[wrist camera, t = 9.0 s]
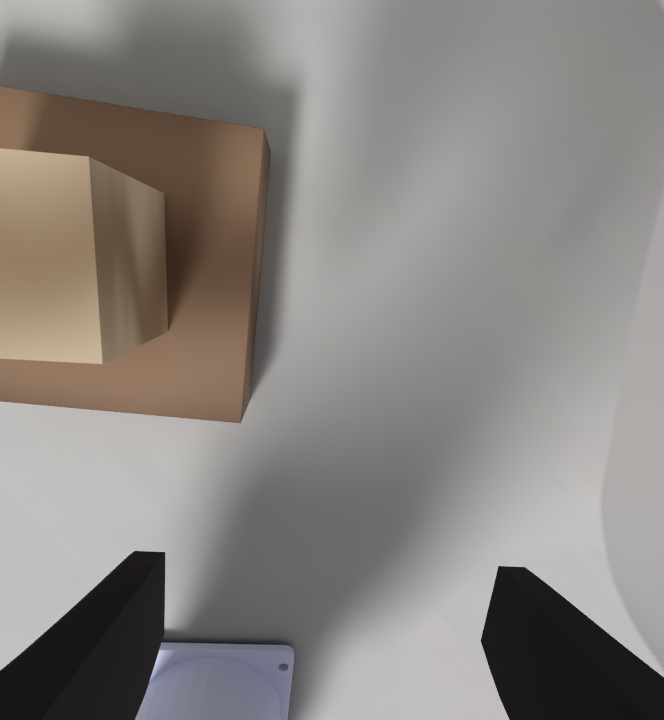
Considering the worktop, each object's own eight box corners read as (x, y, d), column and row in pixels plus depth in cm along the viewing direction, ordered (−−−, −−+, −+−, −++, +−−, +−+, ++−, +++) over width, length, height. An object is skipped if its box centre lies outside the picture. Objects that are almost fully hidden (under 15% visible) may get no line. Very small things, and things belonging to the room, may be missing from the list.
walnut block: (251, 397, 18) (240, 423, 15) (13, 373, 17) (-49, 396, 14) (271, 155, 15) (263, 128, 12) (-3, 111, 14) (-81, 73, 11)
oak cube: (168, 331, 14) (102, 364, 9) (31, 323, 13) (-104, 352, 9) (164, 193, 13) (88, 156, 8) (16, 180, 12) (-146, 134, 8)
